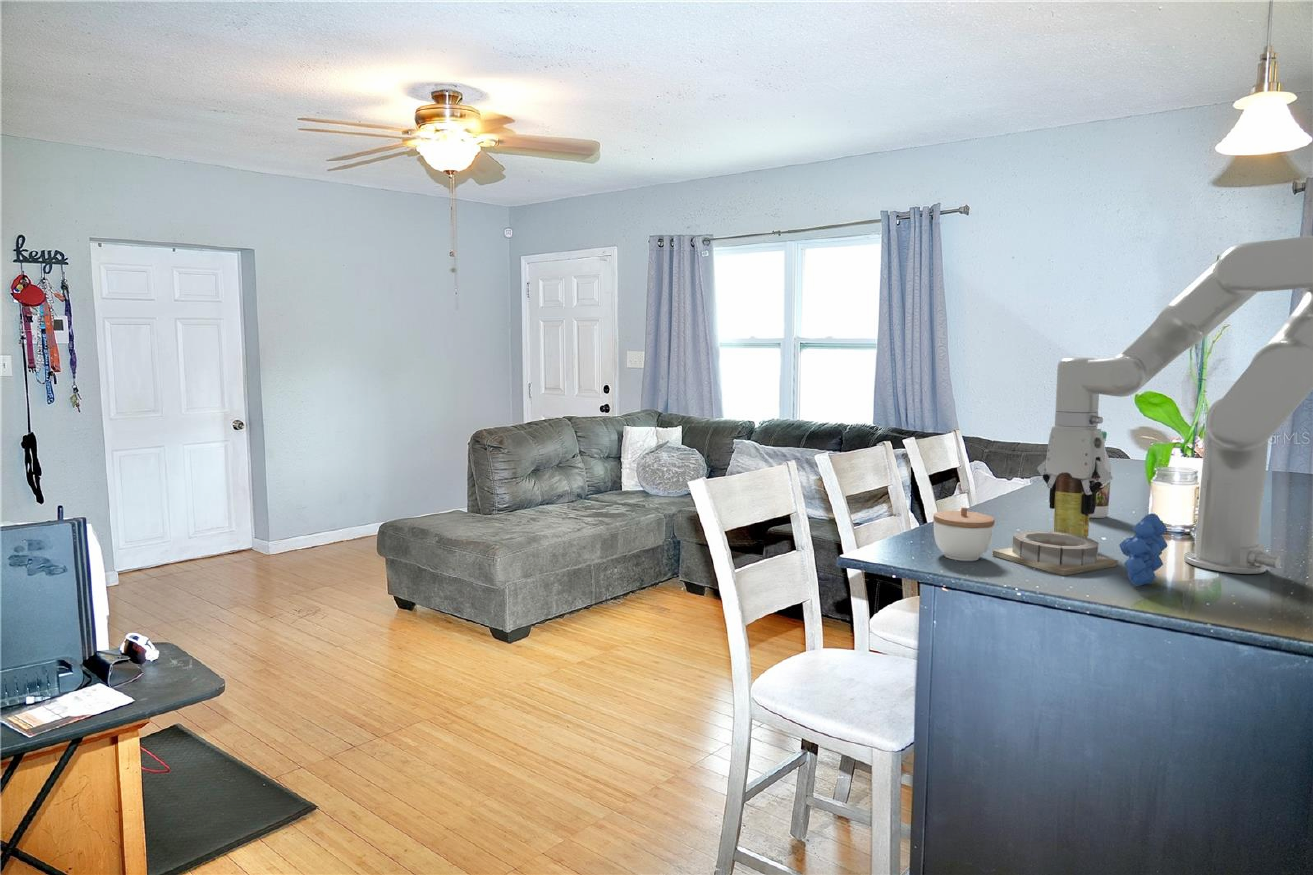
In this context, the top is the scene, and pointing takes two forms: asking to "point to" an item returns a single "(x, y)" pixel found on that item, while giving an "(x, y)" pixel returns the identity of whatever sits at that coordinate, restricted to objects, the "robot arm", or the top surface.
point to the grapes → (1144, 549)
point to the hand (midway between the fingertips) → (1071, 510)
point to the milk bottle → (1103, 491)
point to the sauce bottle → (1069, 506)
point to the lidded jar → (963, 534)
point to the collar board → (1055, 552)
